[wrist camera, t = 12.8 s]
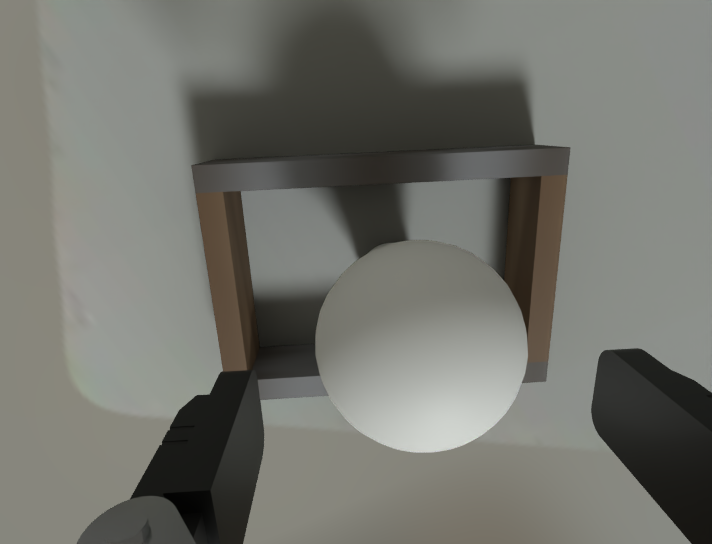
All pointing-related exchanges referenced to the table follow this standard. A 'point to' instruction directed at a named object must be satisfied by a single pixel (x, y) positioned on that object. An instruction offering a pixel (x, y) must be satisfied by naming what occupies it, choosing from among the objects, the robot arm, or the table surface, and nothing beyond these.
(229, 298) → the brown wooden shallow box
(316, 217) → the table surface
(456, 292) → the lightbulb
